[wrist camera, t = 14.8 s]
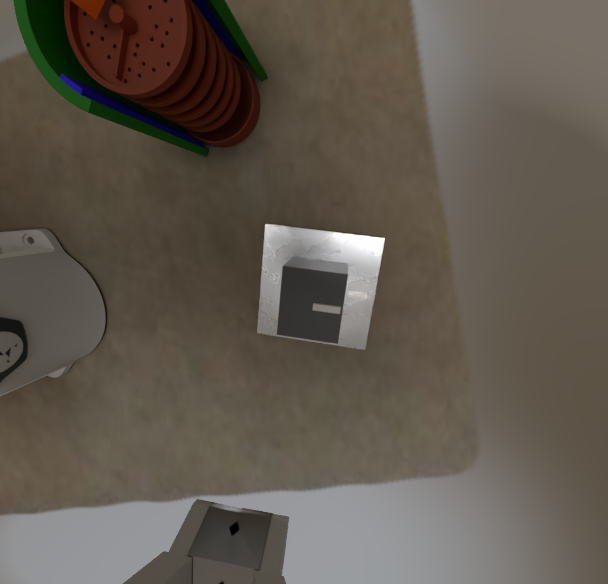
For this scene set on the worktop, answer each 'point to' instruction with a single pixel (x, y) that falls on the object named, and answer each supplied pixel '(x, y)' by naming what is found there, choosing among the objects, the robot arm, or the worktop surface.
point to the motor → (149, 65)
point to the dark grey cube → (312, 299)
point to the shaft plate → (328, 247)
